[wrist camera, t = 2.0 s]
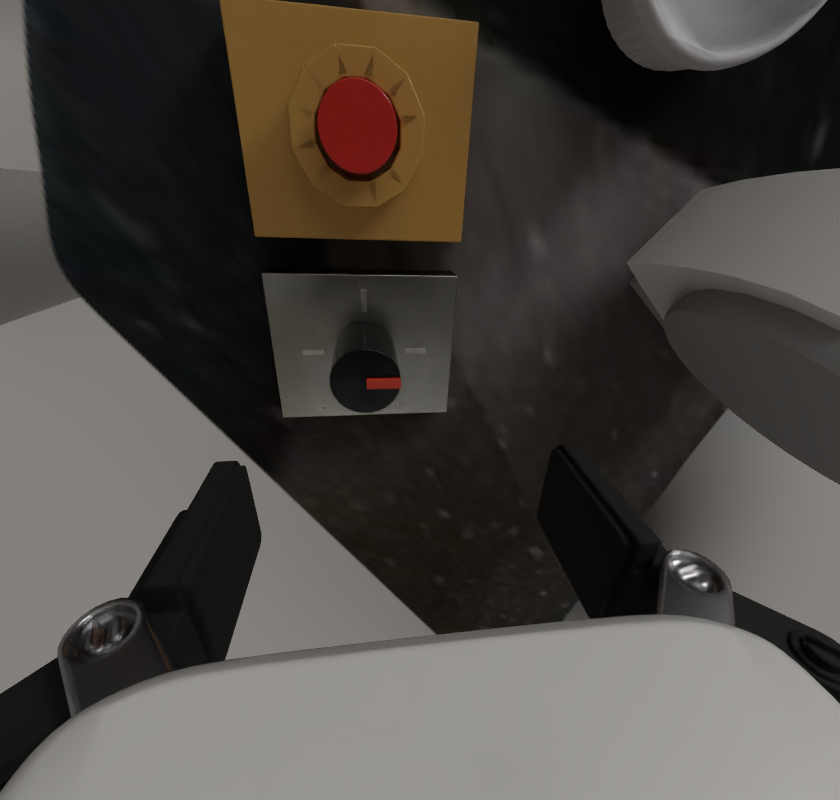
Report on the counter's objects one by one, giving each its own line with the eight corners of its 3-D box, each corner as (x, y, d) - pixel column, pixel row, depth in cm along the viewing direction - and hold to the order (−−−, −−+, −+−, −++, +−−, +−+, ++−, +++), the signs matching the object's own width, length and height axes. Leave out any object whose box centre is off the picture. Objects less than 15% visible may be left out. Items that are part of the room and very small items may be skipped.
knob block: (263, 233, 24) (246, 239, 20) (232, 14, 19) (203, -28, 15) (453, 239, 25) (468, 245, 22) (468, 38, 20) (490, 4, 17)
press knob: (323, 173, 19) (320, 171, 18) (317, 84, 18) (313, 73, 16) (394, 177, 20) (397, 175, 18) (394, 90, 18) (397, 80, 17)
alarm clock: (780, 333, 32) (1300, 500, 14) (693, 403, 34) (1049, 622, 17) (683, 161, 25) (1494, 68, 7) (581, 264, 27) (999, 390, 9)
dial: (337, 378, 26) (331, 417, 22) (333, 322, 25) (325, 351, 20) (394, 377, 27) (401, 415, 22) (394, 322, 25) (402, 350, 20)
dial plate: (287, 404, 29) (282, 419, 27) (268, 267, 24) (260, 273, 23) (442, 400, 31) (447, 413, 29) (451, 270, 26) (458, 276, 24)
